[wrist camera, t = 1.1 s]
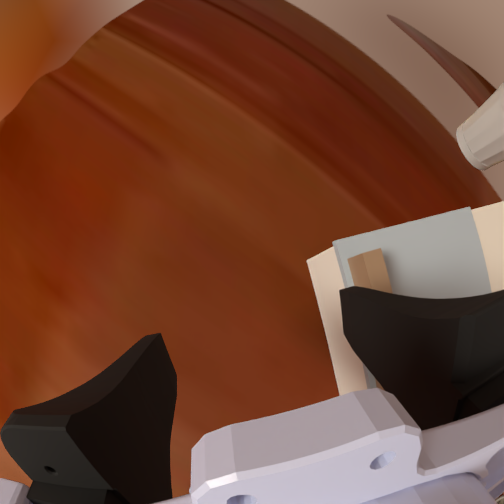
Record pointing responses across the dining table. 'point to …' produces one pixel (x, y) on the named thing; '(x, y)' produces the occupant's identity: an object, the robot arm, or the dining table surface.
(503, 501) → the salad plate
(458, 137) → the cup
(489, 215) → the carton
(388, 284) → the lid
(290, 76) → the dining table surface
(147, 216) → the dining table surface
